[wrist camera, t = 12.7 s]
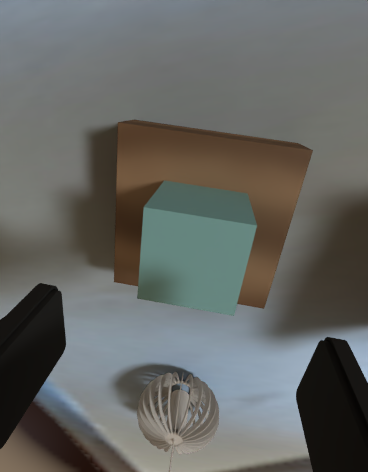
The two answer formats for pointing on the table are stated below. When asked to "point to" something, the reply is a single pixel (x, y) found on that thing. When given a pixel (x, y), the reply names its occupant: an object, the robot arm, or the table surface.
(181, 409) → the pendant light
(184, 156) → the walnut plinth
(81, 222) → the table surface
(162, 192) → the teal block
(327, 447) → the robot arm
